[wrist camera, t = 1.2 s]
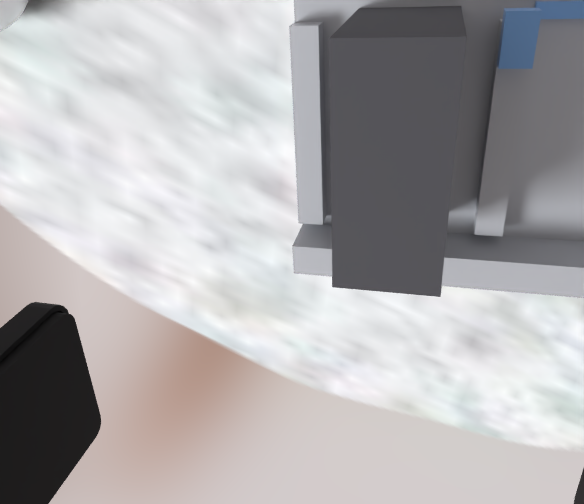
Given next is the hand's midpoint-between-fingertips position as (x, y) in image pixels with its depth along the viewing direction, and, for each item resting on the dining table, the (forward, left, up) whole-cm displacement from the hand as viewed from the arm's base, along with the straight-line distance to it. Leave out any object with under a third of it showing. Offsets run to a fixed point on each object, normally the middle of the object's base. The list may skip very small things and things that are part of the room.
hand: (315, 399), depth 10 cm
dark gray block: (0, 0, -18) cm, 18 cm away
